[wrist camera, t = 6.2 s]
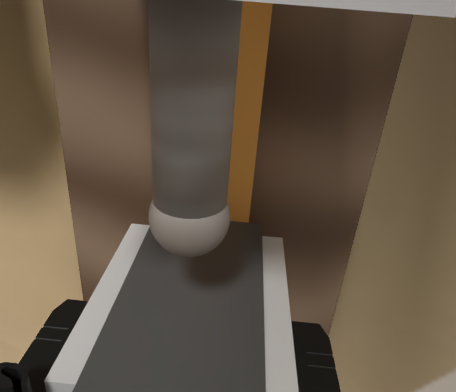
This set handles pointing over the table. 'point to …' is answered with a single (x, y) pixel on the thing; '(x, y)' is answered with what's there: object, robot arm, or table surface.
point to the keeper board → (290, 138)
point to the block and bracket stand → (209, 261)
